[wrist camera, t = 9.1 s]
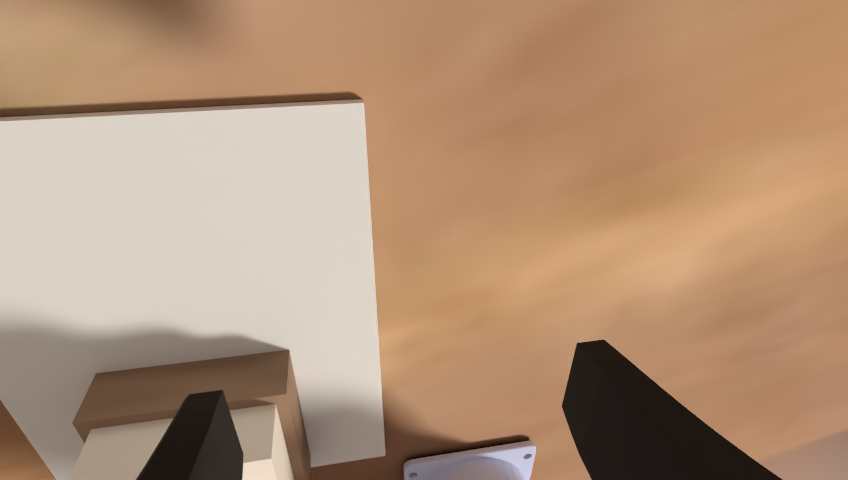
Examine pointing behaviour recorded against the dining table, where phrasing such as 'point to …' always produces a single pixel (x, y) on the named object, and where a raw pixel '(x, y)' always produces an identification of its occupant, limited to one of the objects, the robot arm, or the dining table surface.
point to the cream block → (134, 443)
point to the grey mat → (189, 260)
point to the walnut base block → (170, 384)
